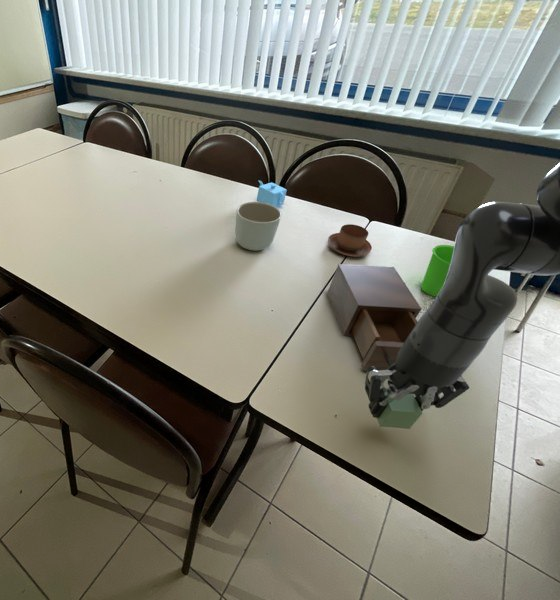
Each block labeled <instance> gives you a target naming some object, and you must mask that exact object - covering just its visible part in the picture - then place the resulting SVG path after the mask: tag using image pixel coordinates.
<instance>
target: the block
mask: <svg viewBox="0 0 560 600" xmlns="http://www.w3.org/2000/svg"><path fill="white" fill-rule="evenodd" d="M384 394H385V396H386V395H387V394H388V393H387V392H385V393H384ZM423 414H424V413H423V411H421V409H420V407H419V405H418V403H417V401H416V399H415V395H414V394H407V395H406V396H404V397H403V398H402V399H400V400H394V401H392V402H391V403H389V404H388V405H387V407H386V409H385V410H384V412H383V413H382V414H381V416H380V417H379V418H376V419H377V422H378V425H379V427H381V428H392V429H393V428H394V429H405V430H406V429H407V430H410V429H411V428H412V427H413V426H414V424H416V422H417V421H418V420H419V418H420V417H421V416H422V415H423Z"/></svg>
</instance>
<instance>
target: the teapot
mask: <svg viewBox="0 0 560 600" xmlns="http://www.w3.org/2000/svg"><path fill="white" fill-rule="evenodd" d="M258 183H259V186H258V189H257V195H256V201H255V202H262V203H267V204H270V205H272V206H274V207H276V208H279V207H281V206H283V205H284V203H285V200H286V197H287V191H288V190H287V189H286V188H284V187H283V186H280V185H278V184H276V183H274V182H272V181H271V182H268V183H266V184H265V183H263V181H262V180H258Z"/></svg>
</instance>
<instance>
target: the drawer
mask: <svg viewBox="0 0 560 600" xmlns="http://www.w3.org/2000/svg"><path fill="white" fill-rule="evenodd" d="M417 322H418V320H417V317H416V318H415V317H414V315H413V314H412V312H411V311H393V310H376V309H361V310H360V312H359V314H358V316H357V318H356V320H355V322H354V324H353V326H352V328H351V331H352V334H353V336H352V337H353V338H354V340H355V343H356V346H357V347H358V350H359V352H360V355H361V357H362V359H363V361H362V363H361V364H360V367H361V369H362V370H363V371H367V368H368V367H371V366H374V367H375V368H376V370H377V371H379V370H388V368H389V367H390V366H391V365H393V364H394V363H395V362H396V360H397V356H398V352H399V350H400V349H401V347H402V345H403V344H404V342H405V341H406V339H407V338H408V336H409V334H410V333H411V331H412V330H413V328H414V327H415V325H416V323H417Z"/></svg>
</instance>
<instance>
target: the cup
mask: <svg viewBox="0 0 560 600" xmlns="http://www.w3.org/2000/svg"><path fill="white" fill-rule="evenodd" d="M453 250H454V245H450V244H449V245H448V244H440V245H436V246H434V247H433V248H432V249H431V252H432V254H431V257H430V260H429V263H428V265H427V267H426V271H425V274H424V277H423V280H422V282H421V285H420V289H421V291H422V292H423V293H425V294H426V295H429V296H431V297H436V296H437V295H438V293H439V292H440V290H441V289H442V287H443V285H444V283H445V280H446V277H447V274H448V270H449V267H450V263H451V260H452V255H453Z"/></svg>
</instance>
